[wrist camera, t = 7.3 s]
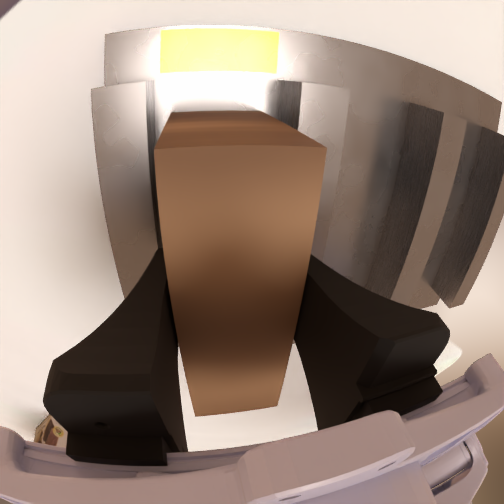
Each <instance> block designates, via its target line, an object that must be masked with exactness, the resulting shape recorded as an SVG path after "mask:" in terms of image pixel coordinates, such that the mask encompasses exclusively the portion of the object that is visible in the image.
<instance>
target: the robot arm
mask: <svg viewBox="0 0 504 504" xmlns="http://www.w3.org/2000/svg"><path fill="white" fill-rule="evenodd" d="M449 337H450V330H449V329H448V328H447V326H446V325H445V323H444V322H443V321H442V319H441V318H440V317H439V315H438V314H437V313H433V312H429V311H425V310H421V309H417V308H414V307H410V306H407V305H404V304H401V303H398V302H395V301H393V300H390V299H388V298H385V297H383V296H381V295H378V294H376V293H374V292H372V291H369V290H367V289H365V288H363V287H362V286H360V285H358V284H356V283H354V282H352V281H350V280H349V279H347V278H345V277H344V276H342V275H341V274H339V273H338V272H336V271H334V270H333V269H331V268H330V267H329V266H327V265H326V264H324V263H323V262H321V261H320V260H319V259H317V258H316V257H315V256H313V255H312V254H311V255H310V260H309V265H308V271H307V276H306V281H305V286H304V291H303V296H302V301H301V306H300V311H299V316H298V320H297V325H296V330H295V334H294V341H295V343H296V346H297V349H298V351H299V355H300V358H301V361H302V365H303V368H304V372H305V375H306V379H307V383H308V387H309V390H310V394H311V399H312V403H313V407H314V412H315V417H316V422H317V427H318V431H315V432H311V433H307V434H302V435H298V436H294V437H289V438H284V439H281V440H277V441H272V442H267V443H261V444H255V445H249V446H242V447H234V448H226V449H217V450H207V451H195V452H188V448H187V442H186V436H185V429H184V421H183V414H182V405H181V396H180V386H179V375H178V337H177V332H176V327H175V322H174V316H173V310H172V305H171V299H170V292H169V286H168V280H167V273H166V266H165V259H164V251H163V248H158V249H157V250H156V252H155V254H154V256H153V258H152V259H151V261H150V263H149V265H148V266H147V268H146V270H145V271H144V273H143V274H142V276H141V277H140V279H139V280H138V282H137V283H136V285H135V286H134V287H133V289H132V290H131V292H130V293H129V294H128V296H127V297H126V298H125V299H124V301H123V302H122V303H121V304H120V306H119V307H118V308H117V309H116V310H115V311H114V312H113V313H112V314H111V315H110V316H109V317H108V318H107V319H106V320H105V321H104V322H103V323H102V324H101V325H100V326H99V327H98V328H97V329H96V330H95V331H93V332H92V333H91V334H90V335H89V336H87V337H86V338H85V339H84V340H82V341H81V342H80V343H78V344H77V345H76V346H74V347H73V348H71V349H70V350H68V351H67V352H65V353H64V354H62V355H61V356H59V357H58V358H56V359H54V360H53V363H52V366H51V368H50V371H49V375H48V379H47V383H46V388H45V392H44V397H43V403H44V407H45V408H46V410H47V411H48V412H49V414H50V415H51V416H52V417H53V418H54V419H55V420H56V421H57V422H58V423H59V424H60V425H61V426H62V427H63V428H64V429H65V430H66V431H67V432H68V434H67V444H66V448H65V447H58V446H52V445H46V444H41V443H35V442H30V441H26V440H24V439H23V438H22V437H21V436H20V435H19V434H18V433H16V432H15V431H13V430H11V429H9V428H6V427H2V426H0V498H2V499H4V500H7V501H9V502H11V503H13V504H473V503H472V499H473V497H474V496H475V494H476V492H477V491H478V489H479V487H480V485H481V484H482V482H483V480H484V478H485V476H486V474H487V471H488V469H487V466H488V461H487V459H486V457H485V456H484V453H483V449H482V446H481V444H480V442H479V440H478V438H477V436H476V434H475V433H476V432H477V431H479V430H480V429H481V428H483V427H484V426H485V425H487V424H488V423H489V422H490V421H491V420H492V419H494V418H495V417H496V416H497V415H498V414H499V413H500V412H501V411H502V410H503V409H504V371H503V369H502V368H501V367H500V365H499V364H498V362H497V361H496V360H495V359H494V357H493V356H492V354H491V353H489V354H487V355H485V356H484V357H482V358H480V359H478V360H477V361H475V362H474V363H473V364H472V365H471V366H470V367H469V368H468V369H467V371H466V372H465V374H464V375H463V376H461V377H459V378H457V379H455V380H453V381H451V382H449V383H447V384H445V385H443V386H441V387H440V385H439V383H438V382H437V380H436V379H435V377H434V376H435V375H436V374H437V370H436V368H435V367H434V365H433V364H434V363H435V361H436V360H437V358H438V357H439V356H440V354H441V353H442V351H443V350H444V348H445V347H446V345H447V343H448V340H449ZM466 446H467V448H468V450H469V451H470V454H469V452H468V450H467V448H466ZM463 469H464V470H463ZM461 470H463V471H462V472H461V473H459V474H457V473H458V472H460V471H461ZM455 474H457V475H456V476H454V475H455ZM452 476H454V477H453V478H451V477H452ZM449 478H451V479H449ZM447 479H449V480H448V481H446V480H447ZM444 481H446V482H445V483H443V484H441V483H442V482H444ZM439 484H441V485H440V486H438V487H436V488H435V489H432V488H434V487H435V486H437V485H439ZM431 489H432V490H431Z"/></svg>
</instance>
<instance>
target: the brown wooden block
mask: <svg viewBox="0 0 504 504" xmlns="http://www.w3.org/2000/svg"><path fill="white" fill-rule="evenodd" d="M326 152H327V147H325V146H323V145H322V144H320V143H318V142H317V141H315V140H313V139H312V138H310V137H308V136H306V135H305V134H303V133H301V132H299V131H298V130H296V129H294V128H292V127H290V126H289V125H287V124H285V123H283V122H281V121H279V120H278V119H276V118H274V117H272V116H270V115H268V114H266V113H264V112H262V111H238V110H224V111H188V112H171V114H170V116H169V118H168V120H167V122H166V124H165V126H164V128H163V130H162V132H161V135H160V137H159V139H158V141H157V143H156V146H155V148H154V160H155V174H156V187H157V198H158V208H159V218H160V227H161V236H162V244H163V251H164V259H165V266H166V273H167V280H168V286H169V292H170V299H171V305H172V310H173V316H174V322H175V327H176V332H177V337H178V343H179V348H180V352H181V357H182V362H183V367H184V371H185V376H186V380H187V384H188V389H189V393H190V397H191V401H192V405H193V409H194V413H195V417H196V416H207V415H217V414H226V413H235V412H242V411H249V410H256V409H262V408H268V407H274V406H277V405H278V401H279V397H280V393H281V389H282V385H283V381H284V377H285V373H286V369H287V365H288V360H289V356H290V352H291V347H292V343H293V339H294V334H295V330H296V325H297V320H298V316H299V311H300V306H301V301H302V296H303V291H304V286H305V281H306V276H307V271H308V265H309V260H310V255H311V249H312V243H313V238H314V232H315V226H316V220H317V214H318V207H319V201H320V195H321V188H322V181H323V174H324V167H325V160H326Z"/></svg>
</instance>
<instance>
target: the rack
mask: <svg viewBox="0 0 504 504" xmlns="http://www.w3.org/2000/svg"><path fill="white" fill-rule="evenodd" d="M104 73H105V87H99V88H94V89H91V101H92V118H93V130H94V141H95V151H96V159H97V167H98V174H99V181H100V188H101V194H102V200H103V206H104V212H105V217H106V222H107V227H108V232H109V237H110V242H111V246H112V251H113V255H114V259H115V264H116V268H117V272H118V276H119V280H120V283H121V287H122V291H123V294H124V298H126V297H127V296H128V294H129V293H130V292H131V290H132V289H133V287H134V286H135V285H136V283H137V282H138V280H139V279H140V277H141V276H142V274H143V273H144V271H145V270H146V268H147V266H148V265H149V263H150V261H151V259H152V258H153V256H154V254H155V252H156V250H157V249H158V248H163V244H162V236H161V227H160V218H159V208H158V198H157V187H156V174H155V160H154V148H155V146H156V143H157V141H158V139H159V137H160V135H161V132H162V130H163V128H164V126H165V124H166V122H167V120H168V118H169V116H170V114H171V112H188V111H224V110H238V111H262V112H264V113H266V114H268V115H270V116H272V117H274V118H276V119H278V120H279V121H281V122H283V123H285V124H287V125H289V126H290V127H292V128H294V129H296V130H298V131H299V132H301V133H303V134H305V135H306V136H308V137H310V138H312V139H313V140H315V141H317V142H318V143H320V144H322V145H323V146H325V147H327V152H326V160H325V167H324V174H323V181H322V188H321V195H320V201H319V207H318V214H317V220H316V226H315V232H314V238H313V243H312V249H311V254H312V255H313V256H315V257H316V258H317V259H319V260H320V261H321V262H323V263H324V264H326V265H327V266H329V267H330V268H331V269H333V270H334V271H336V272H338V273H339V274H341V275H342V276H344V277H345V278H347V279H349V280H350V281H352V282H354V283H356V284H358V285H360V286H362V287H363V288H365V289H367V290H369V291H372V292H374V293H376V294H378V295H381V296H383V297H385V298H388V299H390V300H393V301H395V302H398V303H401V304H404V305H407V306H410V307H414V308H417V309H421V308H425V307H429V306H433V305H436V304H437V303H438V301H439V299H440V298H441V299H442V300H443V302H444V303H445V304H446V305H447V306H448V308H452V307H455V306H459V305H462V304H463V303H464V301H465V300H466V298H467V296H468V294H469V292H470V290H471V288H472V286H473V284H474V282H475V280H476V278H477V276H478V274H479V272H480V270H481V268H482V266H483V263H484V261H485V259H486V257H487V255H488V252H489V250H490V248H491V245H492V243H493V240H494V238H495V235H496V233H497V230H498V228H499V225H500V222H501V220H502V217H503V214H504V136H503V135H501V134H499V133H497V130H498V124H499V118H500V112H501V105H502V102H500V101H499V100H497V99H495V98H493V97H491V96H490V95H488V94H486V93H484V92H482V91H480V90H478V89H477V88H475V87H473V86H471V85H469V84H467V83H465V82H462V81H460V80H458V79H456V78H454V77H452V76H450V75H447V74H445V73H443V72H440V71H438V70H436V69H433V68H431V67H428V66H426V65H423V64H420V63H418V62H415V61H412V60H410V59H407V58H404V57H401V56H398V55H395V54H392V53H389V52H386V51H382V50H379V49H376V48H372V47H368V46H365V45H361V44H357V43H353V42H349V41H345V40H340V39H336V38H331V37H326V36H321V35H316V34H310V33H304V32H297V31H290V30H282V29H274V28H264V27H251V26H233V25H186V26H168V27H156V28H146V29H137V30H129V31H123V32H116V33H110V34H105V58H104ZM294 343H295V341H294V339H293V343H292V344H294ZM178 347H179V343H178Z"/></svg>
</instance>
